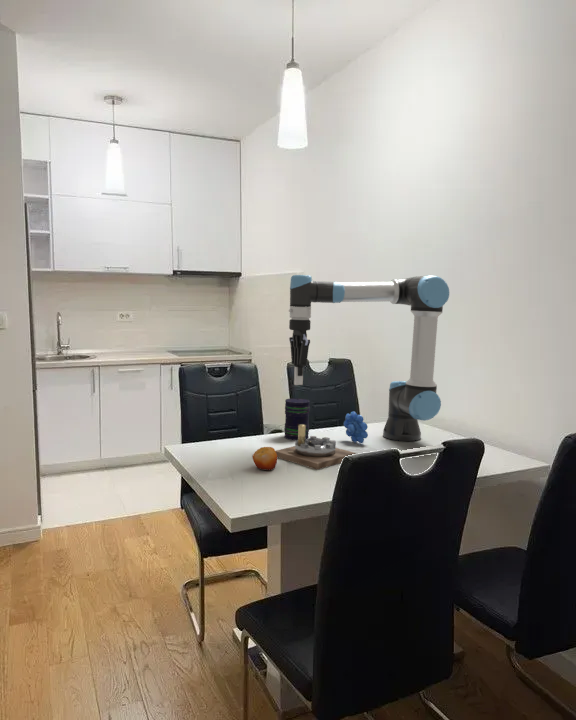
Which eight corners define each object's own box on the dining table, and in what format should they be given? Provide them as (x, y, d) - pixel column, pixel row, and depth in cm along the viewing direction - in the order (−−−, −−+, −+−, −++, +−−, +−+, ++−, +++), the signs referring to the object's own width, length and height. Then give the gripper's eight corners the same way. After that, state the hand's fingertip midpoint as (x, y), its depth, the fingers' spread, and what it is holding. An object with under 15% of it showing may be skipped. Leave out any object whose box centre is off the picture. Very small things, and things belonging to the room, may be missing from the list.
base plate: (312, 446, 211) (312, 440, 211) (355, 458, 197) (355, 451, 197) (274, 456, 197) (274, 449, 197) (317, 469, 183) (317, 462, 183)
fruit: (285, 462, 186) (279, 444, 181) (274, 479, 180) (267, 461, 176) (264, 458, 190) (258, 440, 185) (253, 474, 184) (246, 457, 180)
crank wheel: (288, 447, 200) (288, 421, 199) (322, 444, 206) (323, 418, 205) (307, 458, 188) (308, 430, 186) (342, 454, 194) (344, 426, 193)
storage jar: (308, 440, 220) (310, 403, 219) (283, 440, 220) (284, 402, 219) (308, 434, 230) (309, 398, 228) (284, 434, 230) (285, 397, 229)
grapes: (336, 441, 221) (337, 410, 220) (347, 438, 226) (348, 408, 224) (359, 447, 213) (361, 415, 211) (370, 444, 217) (372, 413, 216)
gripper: (283, 318, 205) (281, 382, 208) (297, 319, 193) (296, 387, 196) (301, 318, 208) (300, 381, 211) (317, 319, 196) (315, 386, 199)
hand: (298, 384), depth 203 cm, fingers closed
